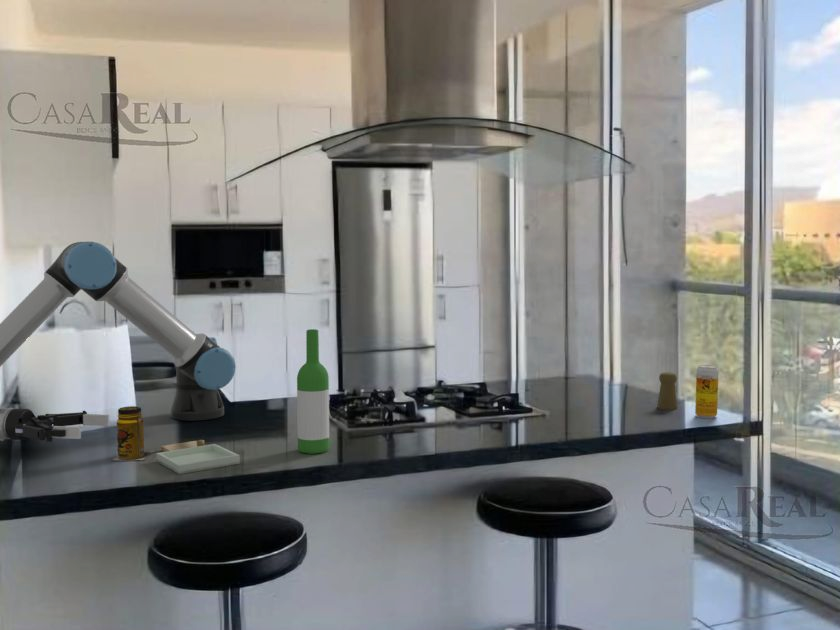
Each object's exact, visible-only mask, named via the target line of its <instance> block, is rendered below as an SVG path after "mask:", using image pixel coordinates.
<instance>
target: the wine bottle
mask: <svg viewBox="0 0 840 630" xmlns="http://www.w3.org/2000/svg"><path fill="white" fill-rule="evenodd" d="M305 332H306V341H305V342H306V346H305V347H306V350H305V351H306V361H305V363H303V365H302V366H300V368H299V370H298V372H297V376H296V402H297V403H296V406H297V407H296V412H297V413H296V415H297V416H296V417H297V420H296V421H297V425H296V426H297V427H296V428H297V448H298V451H299V452H301V453H302V454H306V455H307V454H308V455H309V454H310V455H312V454H315V455H316V454H322V453H325V452H327V451H328V450H329V447H330V388H329V385H330V384H329V383H330V380H329V373H328V370H327V369H326V367H325V366H324V365H323V364H322V363H321V361H320V358H319V357H320V352H319V348H320V347H319V346H320V345H319V341H320V340H319V338H320V337H319V330H318V329H315V328H313V329H306V331H305Z"/></svg>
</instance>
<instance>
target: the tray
mask: <svg viewBox="0 0 840 630" xmlns="http://www.w3.org/2000/svg"><path fill="white" fill-rule="evenodd" d="M204 445H205V446H198V447H192V448H186V449H179V450H173V451H167V452H164V451H162V452H161V451H160V452H156V462H157V463H158V464H161V465H162V466H163V467H166V468H167V469H169V470H171V471H173V472H174V473H176V474H178V475H184V474H190V473H196V472H200V471H206V470H207V471H208V470H211V469H218V468H224V467H228V466H234V465H240V464H241V460H240V459H241V457H240V456H241V455H240V454H239V453H235V452H234V451H231V450H229V449H227V448H225V447H223V446H221V445H218V444H217V443H212V444H204Z"/></svg>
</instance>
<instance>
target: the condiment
mask: <svg viewBox="0 0 840 630" xmlns="http://www.w3.org/2000/svg"><path fill="white" fill-rule="evenodd" d="M117 413H118V414H117V417H118V418H117V420H116V436H117V441H116V442H117V456H116V457H115V458H113V459H112V461H123V462H124V461H125V462H126V461H127V462H128V461H143V460H145V459H146V458H147V457H148V456H149V455H151V454H152V453H153V452H154V450H149V451H148V450H147V451H146V450H145V433H144V432H145V430H144V428H145V426H144V419H143V417H142V416H143V415H142V407H140V406H133V405H132V406H131V405H130V406H123V407H120V408H119V409H118V410H117Z"/></svg>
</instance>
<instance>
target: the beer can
mask: <svg viewBox="0 0 840 630" xmlns="http://www.w3.org/2000/svg"><path fill="white" fill-rule="evenodd" d="M719 372H720V371H719V368H718V366H717V365H712V364H700V365H698V366H697V368H696V376H695V378H696V379H695V380H696V381H695V410H694V413H695V415H696V416H698V417H697V418H700V417H701V419H714V417H715V418H716V416H718V400H719V399H718V397H719V395H718V394H719Z"/></svg>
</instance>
